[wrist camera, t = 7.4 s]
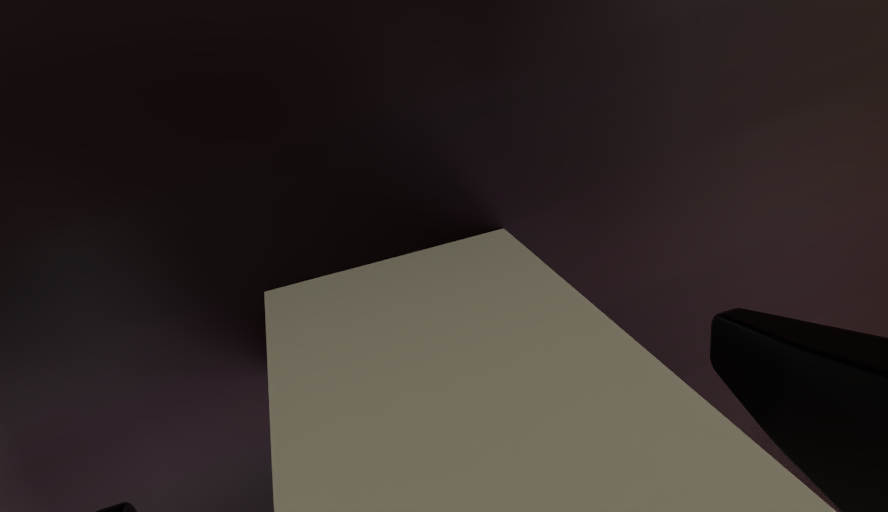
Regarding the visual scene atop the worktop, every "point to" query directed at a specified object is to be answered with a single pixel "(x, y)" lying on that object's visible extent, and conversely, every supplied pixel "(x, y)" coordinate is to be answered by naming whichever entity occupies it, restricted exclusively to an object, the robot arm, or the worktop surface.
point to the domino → (490, 399)
